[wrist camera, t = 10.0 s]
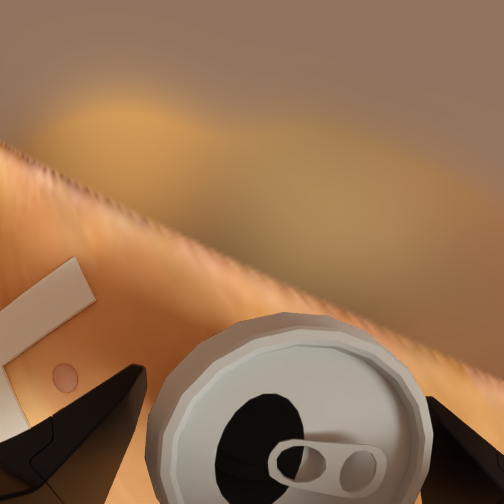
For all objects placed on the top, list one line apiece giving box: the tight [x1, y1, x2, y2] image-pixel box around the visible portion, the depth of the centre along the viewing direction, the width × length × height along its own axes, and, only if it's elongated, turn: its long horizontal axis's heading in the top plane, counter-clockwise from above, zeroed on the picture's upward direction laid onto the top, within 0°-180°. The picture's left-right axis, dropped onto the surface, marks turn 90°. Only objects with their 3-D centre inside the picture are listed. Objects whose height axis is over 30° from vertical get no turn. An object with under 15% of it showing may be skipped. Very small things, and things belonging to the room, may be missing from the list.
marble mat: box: [0, 256, 97, 442], centre depth 15 cm, size 14×14×1 cm
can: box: [145, 312, 433, 504], centre depth 11 cm, size 8×8×12 cm
